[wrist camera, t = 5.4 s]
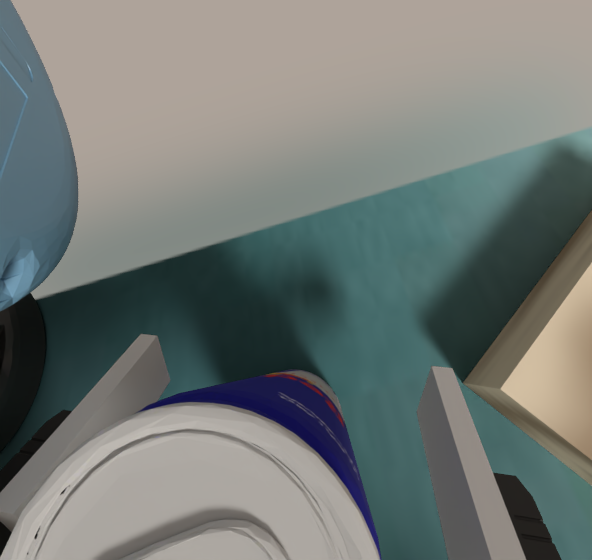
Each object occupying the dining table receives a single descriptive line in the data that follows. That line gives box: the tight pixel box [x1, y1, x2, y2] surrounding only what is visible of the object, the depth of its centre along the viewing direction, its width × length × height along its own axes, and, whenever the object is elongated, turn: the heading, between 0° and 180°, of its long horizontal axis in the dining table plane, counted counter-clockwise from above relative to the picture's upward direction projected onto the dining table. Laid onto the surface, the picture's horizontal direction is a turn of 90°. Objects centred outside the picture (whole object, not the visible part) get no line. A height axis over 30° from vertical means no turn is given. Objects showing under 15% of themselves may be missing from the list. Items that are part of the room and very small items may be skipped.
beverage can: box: [0, 369, 381, 560], centre depth 11 cm, size 6×6×15 cm
